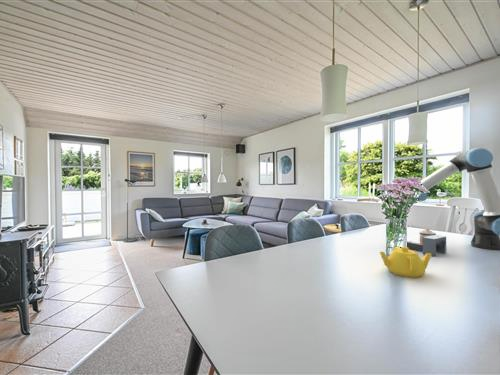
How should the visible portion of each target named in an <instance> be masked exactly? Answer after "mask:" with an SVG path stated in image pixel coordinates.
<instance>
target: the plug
mask: <svg viewBox="0 0 500 375" xmlns="http://www.w3.org/2000/svg"><path fill="white" fill-rule="evenodd" d="M406 241H407V240H406ZM407 247H408V248H409V249H408V250H412V251H416V252H417V251H418V252H422V253H423V244H420V242H413V241H409V240H408V241H407Z"/></svg>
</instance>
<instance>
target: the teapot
mask: <svg viewBox="0 0 500 375" xmlns="http://www.w3.org/2000/svg"><path fill="white" fill-rule="evenodd" d="M379 254H380V257H381V260H382V261H383V263H384V266H385V267H386V268H387V270H388V271H389V272H390V273H391V274H394V275H396V276H400V277H406V278H420V277H422V276H423V275H424V274H425V273H426V269H427V267H428V265H429V262H430V260H431V258H432V256H431V255H432V254H431V253H426V254H424V256H423V257H422V258H421V257H420V256H419V254H418V252H417V251H416V250H412V249H409V248H408V247H401V248H400V247H395V246H394V249H393V251H391V253H390V254H389V256H387V255H386V253H385V251H379Z"/></svg>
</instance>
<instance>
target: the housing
mask: <svg viewBox="0 0 500 375" xmlns="http://www.w3.org/2000/svg"><path fill="white" fill-rule="evenodd" d="M426 253H431V254H432V255H431V257H437V253H440V254H447V236H444V235H439V234H436V235H431V236H427V237H423V252H422V255H425V254H426Z"/></svg>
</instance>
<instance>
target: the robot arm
mask: <svg viewBox="0 0 500 375" xmlns="http://www.w3.org/2000/svg"><path fill="white" fill-rule="evenodd" d="M493 160H494V155H493V153H492V152H491V150H488V149H487V148H483V147H476V148H475V147H474V148H471V149H467V150H464V151H462V152H460V153H459V154H456V155H455V156H454V157H453V158H451V159H450V160H449V161H447V162H446V164H445V165H444V166H441V168H439V169H437V170H436V171H434V172H432V173H431V174H429V175H428V176H426V177H425V178H424V177H423V179H421V180H420V181H421V184H422V185H423V186H424V187H425V188H426V189H427V191H429V190H430V189H432V188H433V187H435V186H436V185H438V184H440V183H441V182H444V181H445V180H446V179H448V178H450V177H451V176H453V175H455V174H460V173H461V172H462V171H464V170H466V172H467V174H469V175H471V177H472V179H473V182H474V185H475V188H476V191H477V194H478V197H479V199H480V202H481V204H482V207H483V209H484V211H476V212H474V215H473V218H474V220H473V221H474V222H473V223H474V227H473V228H474V229H473V230H474V232H473V236H472V238H471V241H470V246H472V247H475V248H479V249H485V250H497V251H499V250H500V194H499V190H498V189H497V186H496V183H495V180H494V177H493V175H492V171H491V169H492V168H493V164H492V162H493ZM427 195H428V194H427V192H426V193H422V194H421V196H420V197H419V198H418V200H417V201H416V202H425V201H426V200H427V197H428V196H427Z"/></svg>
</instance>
